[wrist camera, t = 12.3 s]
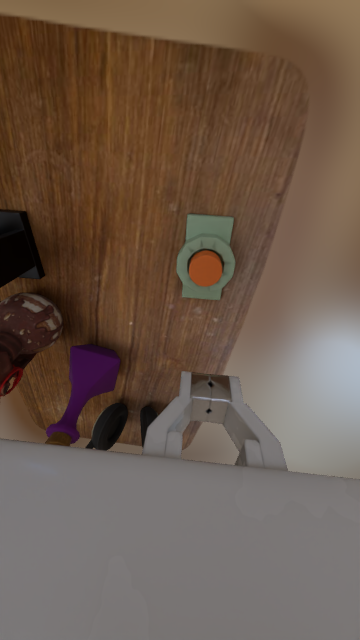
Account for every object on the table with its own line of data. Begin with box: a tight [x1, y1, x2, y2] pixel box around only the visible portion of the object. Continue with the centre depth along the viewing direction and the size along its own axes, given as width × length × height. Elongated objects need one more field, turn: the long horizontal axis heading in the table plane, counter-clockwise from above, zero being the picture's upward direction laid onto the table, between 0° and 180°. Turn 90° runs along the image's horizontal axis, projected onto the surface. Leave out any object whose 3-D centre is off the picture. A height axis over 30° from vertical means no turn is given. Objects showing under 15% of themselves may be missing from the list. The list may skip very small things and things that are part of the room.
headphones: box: [86, 403, 158, 451], centre depth 38 cm, size 9×15×20 cm, turn 85°
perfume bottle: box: [45, 344, 120, 446], centre depth 31 cm, size 8×8×18 cm
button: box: [189, 250, 222, 287], centre depth 25 cm, size 4×4×2 cm
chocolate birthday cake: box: [0, 293, 63, 397], centre depth 28 cm, size 9×8×15 cm
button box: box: [177, 214, 235, 300], centre depth 27 cm, size 10×6×2 cm, turn 177°
